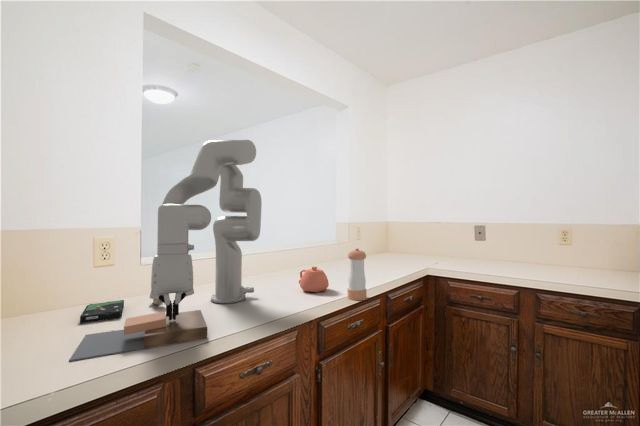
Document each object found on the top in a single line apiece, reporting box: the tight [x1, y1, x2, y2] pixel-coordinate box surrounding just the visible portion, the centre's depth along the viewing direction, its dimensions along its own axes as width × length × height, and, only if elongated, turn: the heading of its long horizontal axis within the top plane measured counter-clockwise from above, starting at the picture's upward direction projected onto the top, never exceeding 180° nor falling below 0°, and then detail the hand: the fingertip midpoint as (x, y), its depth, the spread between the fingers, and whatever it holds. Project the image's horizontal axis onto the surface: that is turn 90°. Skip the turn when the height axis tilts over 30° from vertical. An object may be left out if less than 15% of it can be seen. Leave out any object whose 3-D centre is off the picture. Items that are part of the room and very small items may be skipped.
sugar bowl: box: [298, 266, 329, 293], centre depth 131 cm, size 12×14×10 cm
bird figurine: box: [148, 294, 164, 308], centre depth 106 cm, size 5×5×6 cm
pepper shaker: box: [347, 248, 367, 301], centre depth 118 cm, size 7×7×19 cm
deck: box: [143, 309, 208, 350], centre depth 82 cm, size 14×16×3 cm
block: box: [123, 310, 166, 335], centre depth 78 cm, size 9×7×2 cm
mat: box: [68, 329, 145, 363], centre depth 75 cm, size 14×16×1 cm
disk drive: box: [79, 299, 125, 324], centre depth 98 cm, size 10×3×15 cm
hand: (172, 318), depth 82 cm, fingers closed
